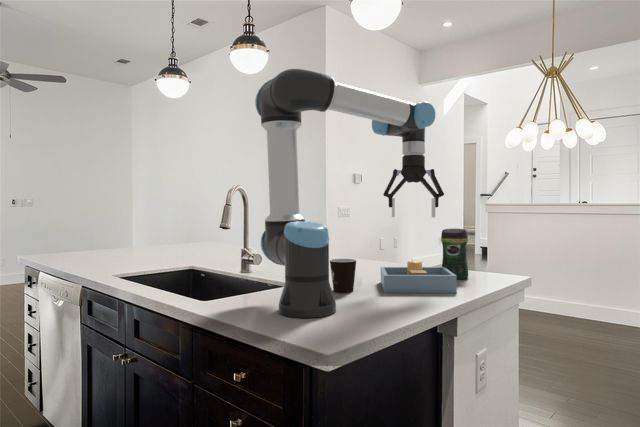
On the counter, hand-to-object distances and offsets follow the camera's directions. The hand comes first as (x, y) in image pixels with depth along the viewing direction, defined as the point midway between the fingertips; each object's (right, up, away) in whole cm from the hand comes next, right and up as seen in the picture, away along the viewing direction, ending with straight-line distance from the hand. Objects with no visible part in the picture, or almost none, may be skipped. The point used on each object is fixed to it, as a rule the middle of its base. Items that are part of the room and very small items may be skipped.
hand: (413, 217), depth 148 cm
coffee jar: (+19, -23, +14) cm, 33 cm away
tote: (0, -23, -3) cm, 24 cm away
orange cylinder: (+1, -22, +1) cm, 22 cm away
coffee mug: (-24, -24, -6) cm, 35 cm away
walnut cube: (0, -23, -7) cm, 24 cm away
